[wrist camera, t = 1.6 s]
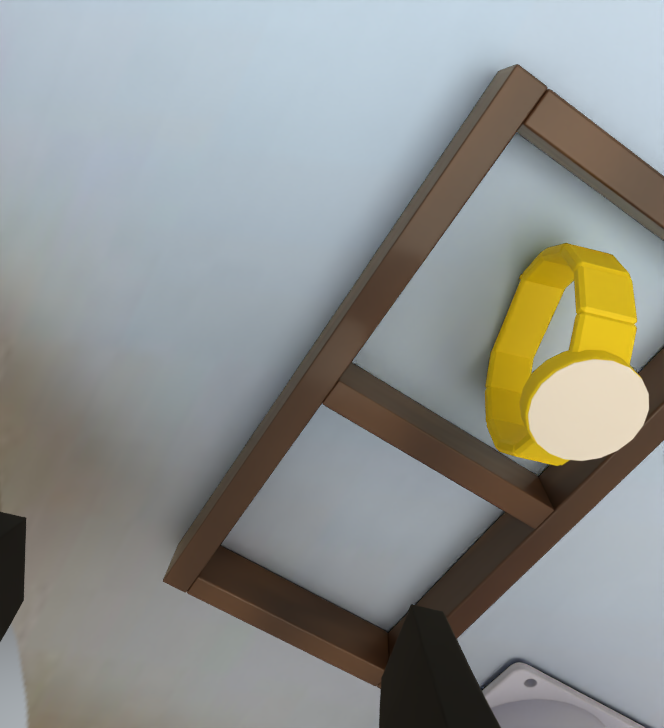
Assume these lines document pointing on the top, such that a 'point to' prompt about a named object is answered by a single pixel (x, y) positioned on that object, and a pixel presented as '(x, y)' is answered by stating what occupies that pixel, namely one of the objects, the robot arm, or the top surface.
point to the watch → (567, 363)
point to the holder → (415, 422)
